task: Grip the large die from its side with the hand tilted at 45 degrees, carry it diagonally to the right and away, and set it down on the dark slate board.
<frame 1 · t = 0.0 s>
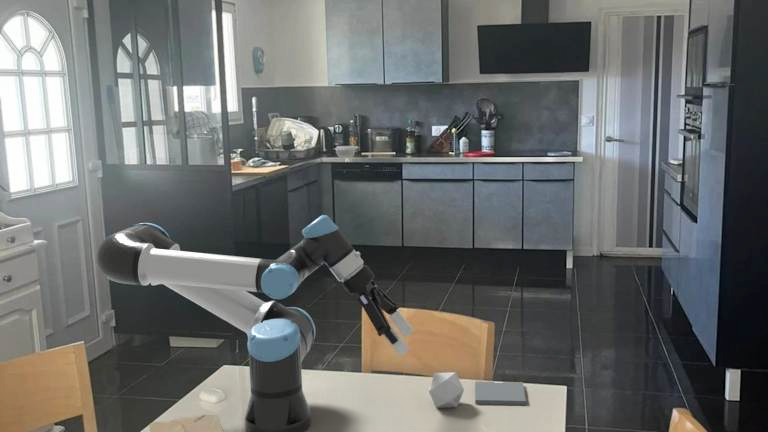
hand: (407, 343, 187), 15 cm above the table, tool tilted 35°, fingers open, 13 cm apart
slate board: (499, 394, 193), on the table
die: (446, 405, 188), on the table
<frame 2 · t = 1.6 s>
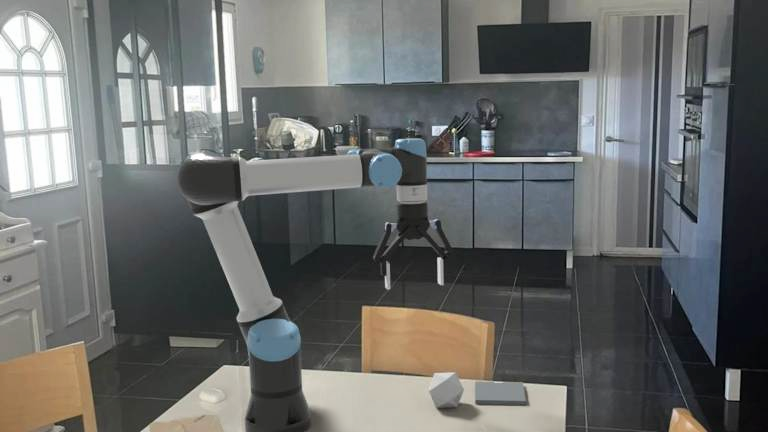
hand: (414, 286, 195), 27 cm above the table, tool pointing down, fingers open, 13 cm apart
nothing on the table moved.
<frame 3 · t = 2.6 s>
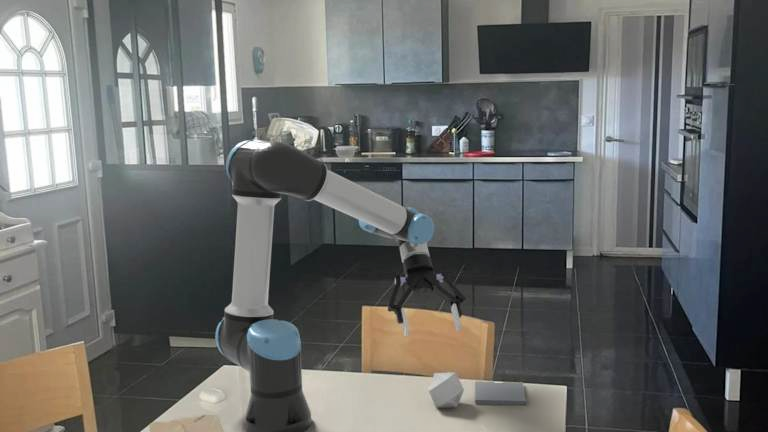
hand: (433, 331, 195), 15 cm above the table, tool tilted 45°, fingers open, 13 cm apart
nothing on the table moved.
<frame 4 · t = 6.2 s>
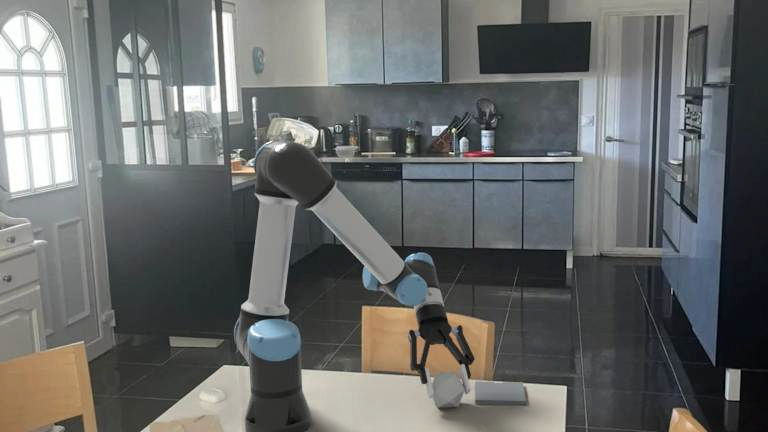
hand: (449, 393, 184), 4 cm above the table, tool tilted 45°, fingers closed on die, 8 cm apart
die: (447, 405, 188), on the table, touching gripper
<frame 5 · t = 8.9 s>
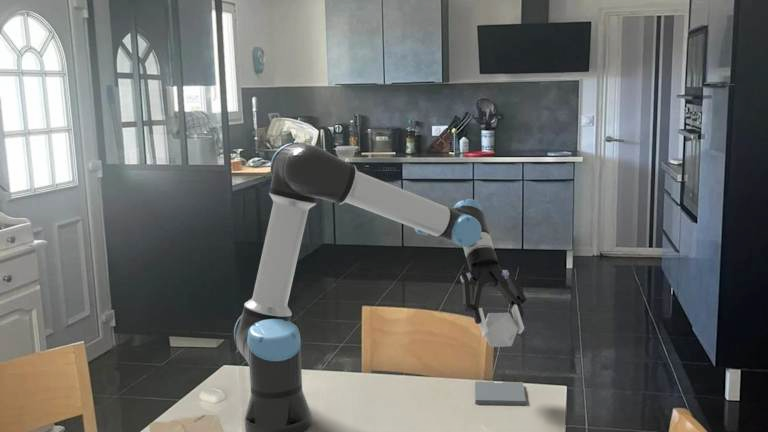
hand: (503, 332, 187), 17 cm above the table, tool tilted 45°, fingers closed on die, 8 cm apart
die: (499, 345, 191), point 13 cm above the table, touching gripper
when the fingers open (6 cm above the table, at t = 11.9 s): die stays where it is, resting on slate board.
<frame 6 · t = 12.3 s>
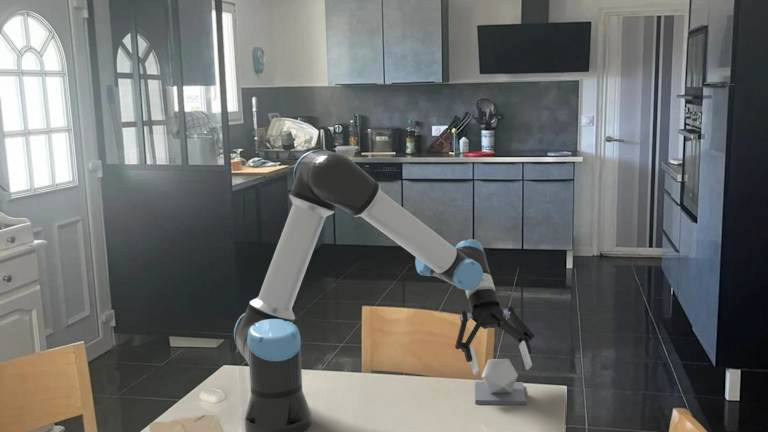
hand: (503, 370, 190), 7 cm above the table, tool tilted 45°, fingers open, 13 cm apart
die: (499, 391, 193), point 1 cm above the table, touching slate board
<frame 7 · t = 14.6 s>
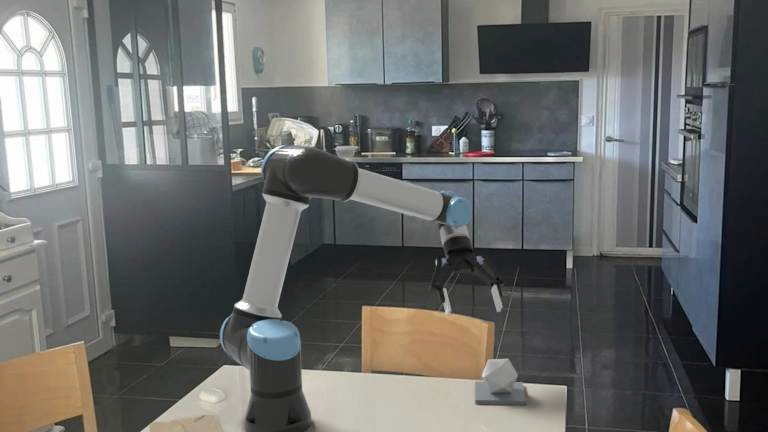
hand: (474, 311, 198), 19 cm above the table, tool tilted 45°, fingers open, 13 cm apart
nothing on the table moved.
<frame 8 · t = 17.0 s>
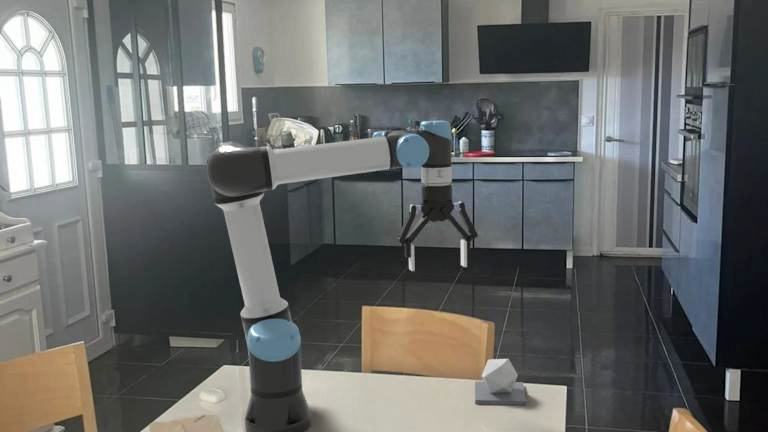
hand: (438, 268, 196), 31 cm above the table, tool pointing down, fingers open, 13 cm apart
nothing on the table moved.
at the end: die 0.1 cm from the slate board (horizontally); die touching slate board; the gripper is holding nothing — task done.
